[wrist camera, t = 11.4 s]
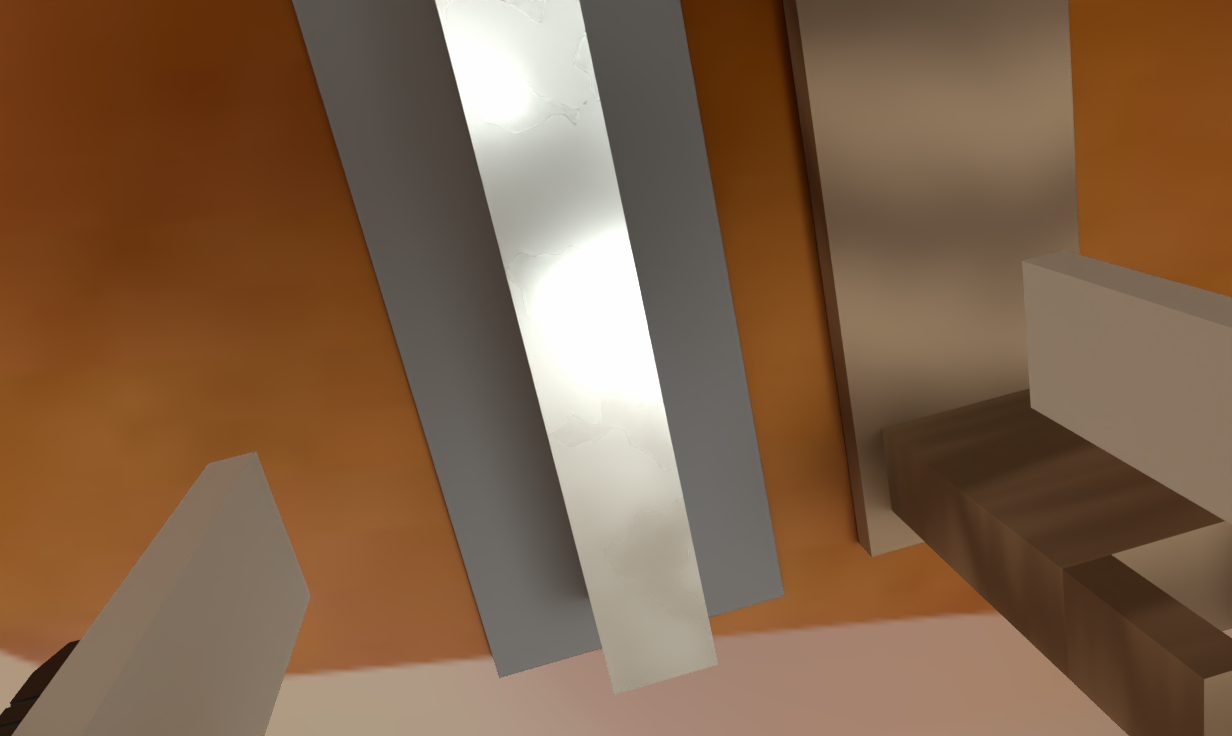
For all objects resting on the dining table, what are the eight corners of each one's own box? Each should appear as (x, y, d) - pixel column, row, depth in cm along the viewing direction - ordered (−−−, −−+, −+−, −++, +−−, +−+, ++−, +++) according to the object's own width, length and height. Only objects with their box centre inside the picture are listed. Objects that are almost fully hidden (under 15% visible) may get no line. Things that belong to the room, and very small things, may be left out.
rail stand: (759, -169, 24) (1137, -512, 10) (1034, -224, 24) (1713, -609, 11) (859, 542, 31) (1162, 879, 17) (1071, 482, 31) (1516, 760, 18)
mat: (258, -114, 22) (256, -116, 22) (644, -190, 23) (645, -193, 23) (499, 672, 30) (499, 677, 29) (781, 591, 31) (784, 595, 30)
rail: (420, -57, 23) (410, -98, 18) (533, -80, 23) (552, -127, 18) (589, 598, 29) (614, 695, 24) (676, 574, 29) (718, 664, 25)
